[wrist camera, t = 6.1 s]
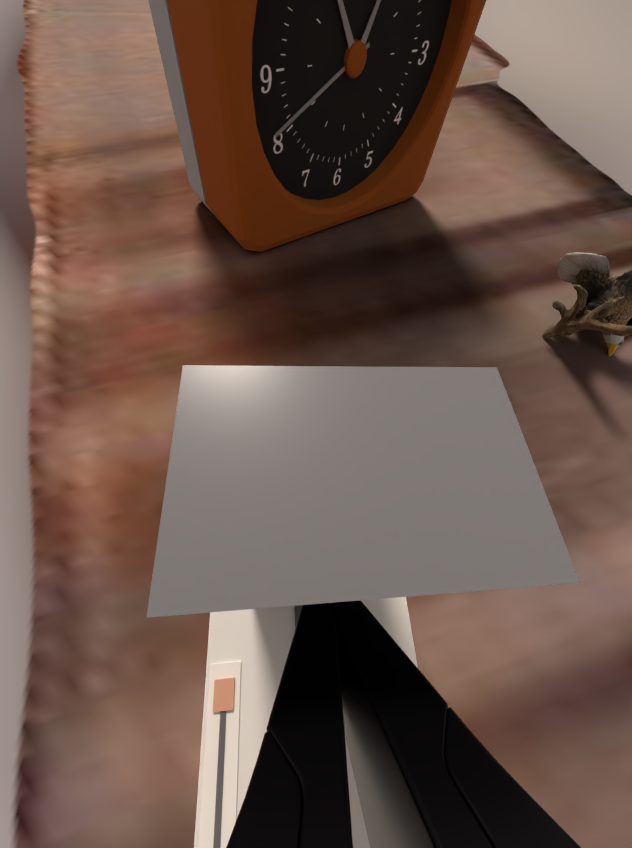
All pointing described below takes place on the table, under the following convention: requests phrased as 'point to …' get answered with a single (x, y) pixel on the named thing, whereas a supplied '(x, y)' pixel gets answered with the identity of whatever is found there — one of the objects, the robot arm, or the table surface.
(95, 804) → the table surface
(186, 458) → the switch knob
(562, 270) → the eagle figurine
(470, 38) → the alarm clock
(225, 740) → the switch unit
